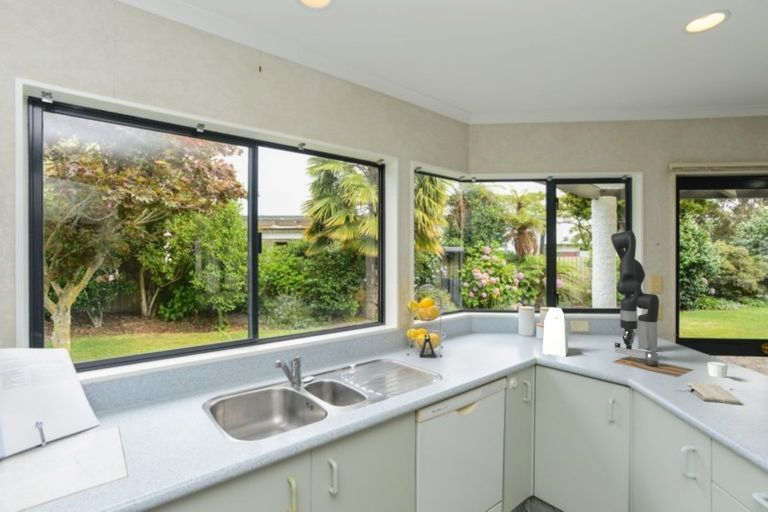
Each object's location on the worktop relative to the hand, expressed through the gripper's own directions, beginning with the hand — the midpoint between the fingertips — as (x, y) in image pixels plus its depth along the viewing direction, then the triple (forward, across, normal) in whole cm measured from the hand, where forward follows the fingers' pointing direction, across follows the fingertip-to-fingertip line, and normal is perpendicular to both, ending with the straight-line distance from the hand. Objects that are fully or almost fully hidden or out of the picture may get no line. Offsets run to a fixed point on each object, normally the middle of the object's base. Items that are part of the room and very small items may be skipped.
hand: (628, 351), depth 193 cm
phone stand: (+4, +68, -80) cm, 105 cm away
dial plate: (+6, +4, +11) cm, 13 cm away
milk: (+6, +9, -34) cm, 36 cm away
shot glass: (+6, 0, +35) cm, 35 cm away
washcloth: (+6, +27, +35) cm, 45 cm away
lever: (+4, +3, +4) cm, 6 cm away
